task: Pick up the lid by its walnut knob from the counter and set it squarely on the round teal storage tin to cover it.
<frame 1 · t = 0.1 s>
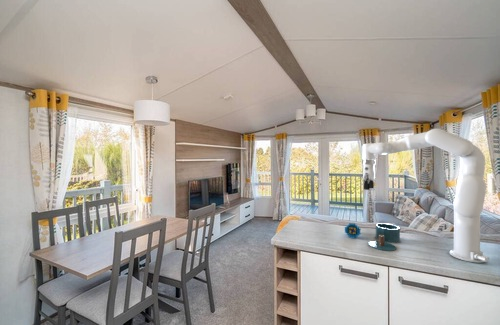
hand: (368, 188, 141), 31 cm above the worktop, tool pointing down, fingers open, 9 cm apart
tin lid: (381, 246, 124), point 1 cm above the worktop
tin: (387, 239, 136), on the worktop
toy flower: (351, 235, 144), on the worktop
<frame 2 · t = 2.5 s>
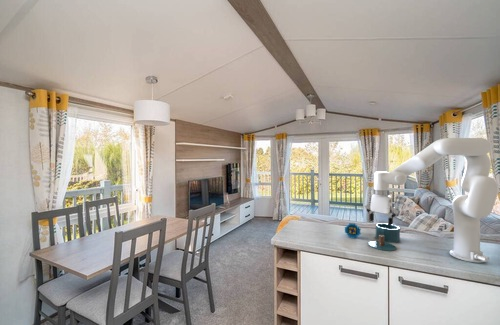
hand: (380, 222, 125), 14 cm above the worktop, tool pointing down, fingers open, 9 cm apart
nothing on the worktop moved.
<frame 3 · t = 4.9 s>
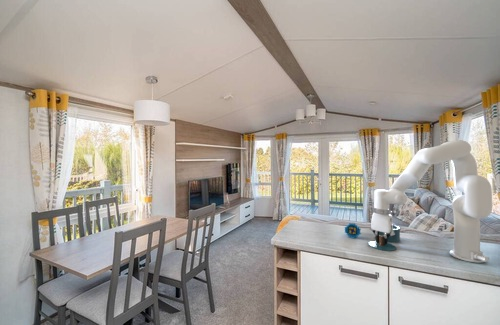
hand: (381, 243, 124), 2 cm above the worktop, tool pointing down, fingers closed on tin lid, 2 cm apart
tin lid: (381, 246, 124), point 1 cm above the worktop, touching gripper
everything else where it was.
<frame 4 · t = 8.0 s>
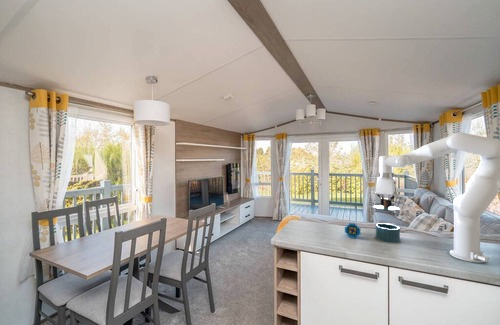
hand: (386, 205, 132), 22 cm above the worktop, tool pointing down, fingers closed on tin lid, 2 cm apart
tin lid: (386, 208, 132), point 20 cm above the worktop, touching gripper
everything else where it was.
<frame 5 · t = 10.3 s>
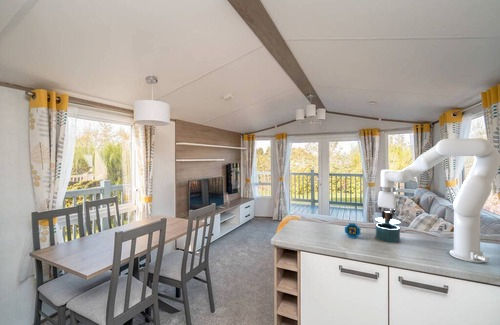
hand: (387, 218, 136), 13 cm above the worktop, tool pointing down, fingers closed on tin lid, 2 cm apart
tin lid: (387, 221, 136), point 11 cm above the worktop, touching gripper
everything else where it was.
when the fingers open (10 cm above the worktop, at t = 11.3 s): tin lid stays where it is, resting on tin.
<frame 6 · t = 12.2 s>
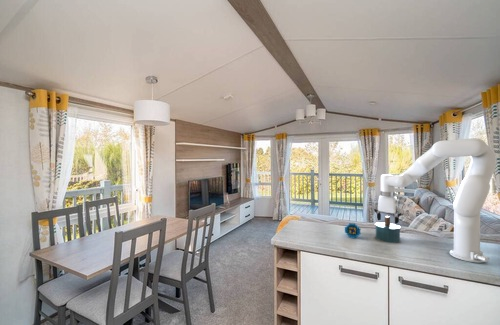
hand: (387, 221, 136), 11 cm above the worktop, tool pointing down, fingers open, 9 cm apart
tin lid: (387, 226, 136), point 8 cm above the worktop, touching tin
everything else where it was.
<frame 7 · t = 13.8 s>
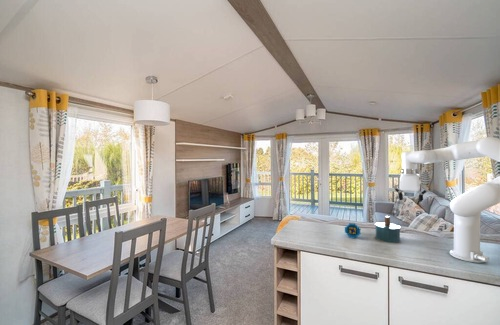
hand: (410, 200, 130), 25 cm above the worktop, tool pointing down, fingers open, 9 cm apart
nothing on the worktop moved.
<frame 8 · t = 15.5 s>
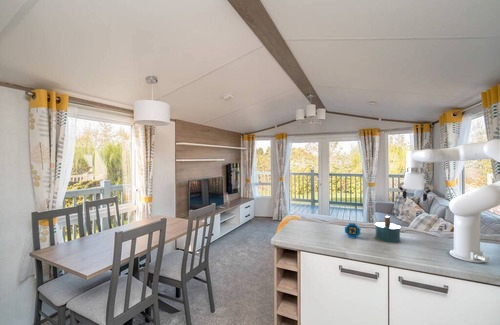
hand: (414, 199, 129), 26 cm above the worktop, tool pointing down, fingers open, 9 cm apart
nothing on the worktop moved.
at the end: tin lid 0.0 cm off-centre on the tin, point 8.4 cm above the tin's base; tin lid tilted 0° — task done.
